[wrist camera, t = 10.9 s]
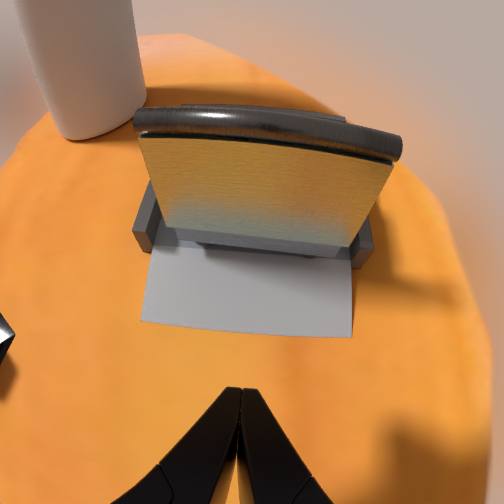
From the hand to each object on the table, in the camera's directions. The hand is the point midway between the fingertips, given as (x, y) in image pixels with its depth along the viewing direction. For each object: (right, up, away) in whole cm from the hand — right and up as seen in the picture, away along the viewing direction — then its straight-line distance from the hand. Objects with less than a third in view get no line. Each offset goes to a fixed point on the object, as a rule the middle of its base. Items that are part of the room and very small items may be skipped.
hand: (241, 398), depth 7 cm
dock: (0, +6, +16) cm, 17 cm away
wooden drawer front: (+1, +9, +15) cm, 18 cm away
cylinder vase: (-19, +22, +23) cm, 37 cm away
